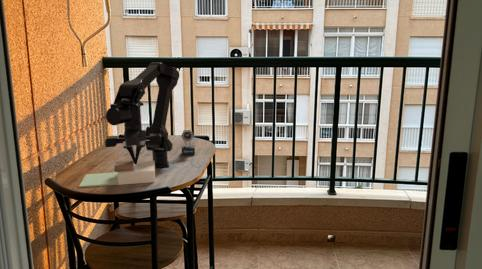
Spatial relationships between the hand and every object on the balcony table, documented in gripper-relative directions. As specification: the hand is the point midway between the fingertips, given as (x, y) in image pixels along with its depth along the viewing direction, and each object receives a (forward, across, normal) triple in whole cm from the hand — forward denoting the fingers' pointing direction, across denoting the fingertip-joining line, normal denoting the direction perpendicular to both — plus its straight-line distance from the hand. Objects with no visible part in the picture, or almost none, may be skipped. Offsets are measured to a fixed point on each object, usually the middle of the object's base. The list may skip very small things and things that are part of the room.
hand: (135, 163), depth 141 cm
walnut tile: (+1, -4, 0) cm, 4 cm away
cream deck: (+5, 0, 0) cm, 5 cm away
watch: (+5, +21, +28) cm, 36 cm away
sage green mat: (+5, -12, 0) cm, 13 cm away
